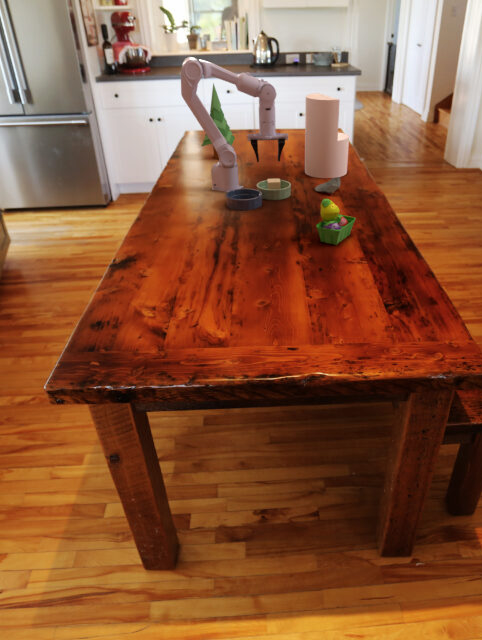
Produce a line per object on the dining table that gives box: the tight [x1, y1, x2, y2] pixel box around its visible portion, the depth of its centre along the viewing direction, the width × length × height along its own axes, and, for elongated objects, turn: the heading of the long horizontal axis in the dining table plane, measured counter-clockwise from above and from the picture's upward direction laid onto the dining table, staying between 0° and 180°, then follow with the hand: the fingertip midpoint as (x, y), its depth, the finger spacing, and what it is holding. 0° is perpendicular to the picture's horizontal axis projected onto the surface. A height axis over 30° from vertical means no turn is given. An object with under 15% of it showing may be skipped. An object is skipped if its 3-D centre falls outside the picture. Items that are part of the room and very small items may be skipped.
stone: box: [314, 177, 341, 195], centre depth 177 cm, size 11×4×10 cm
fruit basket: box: [316, 198, 356, 246], centre depth 140 cm, size 11×9×11 cm
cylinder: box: [304, 92, 350, 179], centre depth 191 cm, size 17×17×28 cm
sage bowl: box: [256, 179, 292, 201], centre depth 174 cm, size 12×12×4 cm
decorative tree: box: [201, 83, 236, 160], centre depth 210 cm, size 14×16×30 cm
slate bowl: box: [225, 187, 263, 211], centre depth 166 cm, size 12×12×4 cm
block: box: [266, 178, 281, 190], centre depth 173 cm, size 4×4×5 cm
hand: (268, 161), depth 178 cm, fingers open, 7 cm apart
